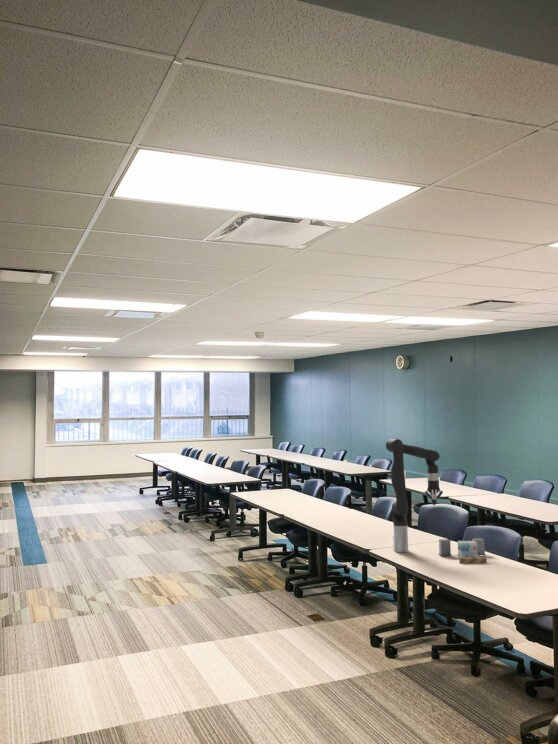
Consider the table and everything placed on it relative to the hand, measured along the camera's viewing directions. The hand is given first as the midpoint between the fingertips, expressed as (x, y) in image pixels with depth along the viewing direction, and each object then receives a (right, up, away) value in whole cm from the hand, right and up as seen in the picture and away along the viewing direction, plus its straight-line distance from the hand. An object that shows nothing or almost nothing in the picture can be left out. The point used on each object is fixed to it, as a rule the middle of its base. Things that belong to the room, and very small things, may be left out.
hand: (434, 504), depth 420 cm
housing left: (0, -27, -28) cm, 39 cm away
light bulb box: (+12, -26, -38) cm, 48 cm away
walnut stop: (+11, -25, -50) cm, 57 cm away
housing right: (+22, -26, -28) cm, 44 cm away
